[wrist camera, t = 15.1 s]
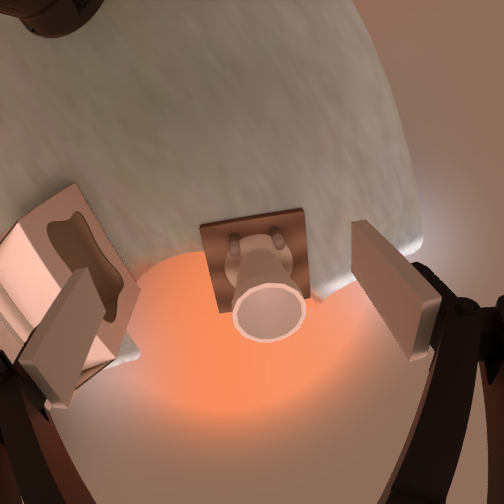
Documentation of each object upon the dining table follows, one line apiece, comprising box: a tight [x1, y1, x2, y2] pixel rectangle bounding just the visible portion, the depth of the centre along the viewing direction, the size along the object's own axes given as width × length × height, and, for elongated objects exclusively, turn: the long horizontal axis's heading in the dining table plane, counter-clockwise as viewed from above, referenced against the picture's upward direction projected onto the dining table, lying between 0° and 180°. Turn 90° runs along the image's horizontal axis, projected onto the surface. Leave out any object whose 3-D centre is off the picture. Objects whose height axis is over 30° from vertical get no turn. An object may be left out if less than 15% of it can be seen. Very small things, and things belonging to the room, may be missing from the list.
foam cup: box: [231, 248, 306, 342], centre depth 46 cm, size 10×9×13 cm
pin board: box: [199, 208, 310, 313], centre depth 50 cm, size 16×16×6 cm
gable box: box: [0, 183, 140, 410], centre depth 37 cm, size 22×13×28 cm, turn 23°
